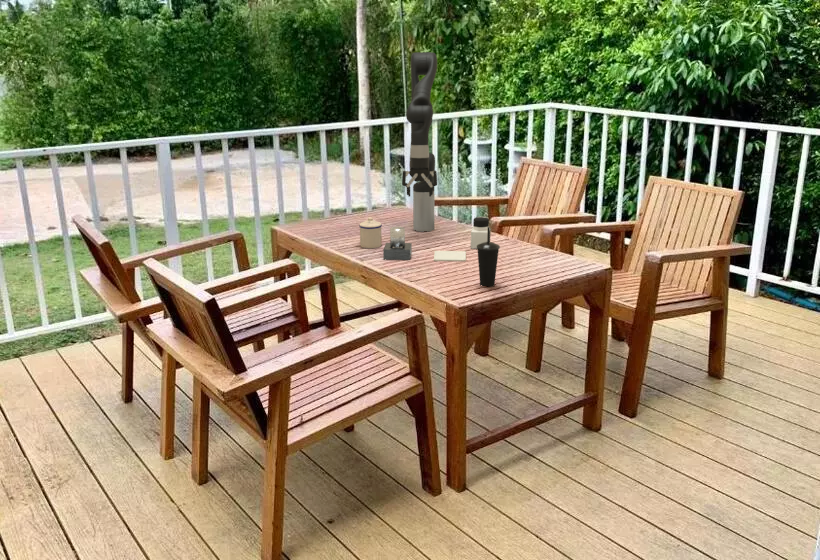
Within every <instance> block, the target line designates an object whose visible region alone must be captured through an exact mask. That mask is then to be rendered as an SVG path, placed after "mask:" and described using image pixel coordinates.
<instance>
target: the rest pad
mask: <svg viewBox="0 0 820 560" xmlns="http://www.w3.org/2000/svg"><path fill="white" fill-rule="evenodd" d="M466 254H467V252H466V250H456V251H455V250H434V254H433V255H434V256H433V261H434V262H466V261H467V259H466V258H467V255H466Z"/></svg>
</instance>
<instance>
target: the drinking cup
mask: <svg viewBox="0 0 820 560" xmlns="http://www.w3.org/2000/svg"><path fill="white" fill-rule="evenodd" d="M490 229H491V228H490V226H489V227H488V233H487V242H483V243H481V244H478V245H477V249H476V250H477V259H478V274H479V275H478V276H479V286H480V285H482V286H493V285H494V286H495V284H496V283H495V282H496V276H497V275H496V273H497V267H498V260H499V259H498V258H499V249H500V248H501V247H500V244H498V243H495V242H494V241H493V242H492V241H490V242H489V235H490V236H491V233H490ZM482 286H481V287H482ZM494 286H493V287H494Z"/></svg>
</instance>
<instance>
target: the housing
mask: <svg viewBox="0 0 820 560" xmlns="http://www.w3.org/2000/svg"><path fill="white" fill-rule="evenodd" d="M382 252H383V255H382V256H383V261H410V260H411V257H412V253H413V252H412V242H405V246H403V248H392V246H391V245H390V242H385V244H384V247H383V250H382ZM385 259H386V260H385Z"/></svg>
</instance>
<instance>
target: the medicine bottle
mask: <svg viewBox="0 0 820 560" xmlns="http://www.w3.org/2000/svg"><path fill="white" fill-rule="evenodd" d="M472 222H473V223H472V224H473V227H472V229H471V231H470V249H473V250H478V249H477V245H478V244H481V243H483V242H487V233H488V227H490V223H489V222H490V219H489V218H488V217H486V216H477V217H474V218H473V221H472ZM491 232H492V231H491V228H490V235H489V242H491V234H492V233H491Z"/></svg>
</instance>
